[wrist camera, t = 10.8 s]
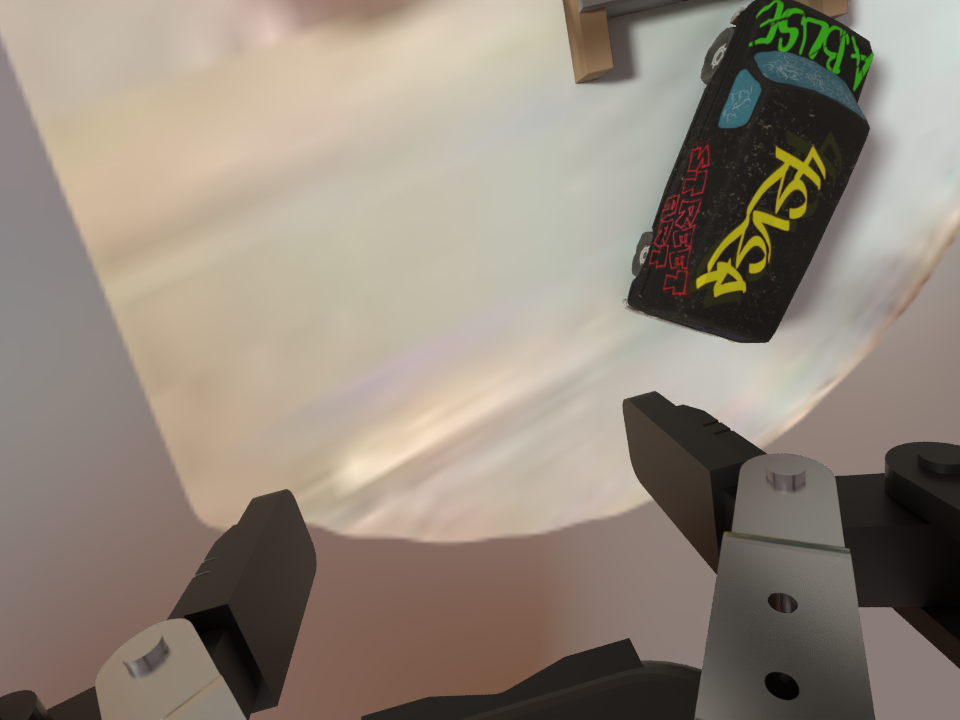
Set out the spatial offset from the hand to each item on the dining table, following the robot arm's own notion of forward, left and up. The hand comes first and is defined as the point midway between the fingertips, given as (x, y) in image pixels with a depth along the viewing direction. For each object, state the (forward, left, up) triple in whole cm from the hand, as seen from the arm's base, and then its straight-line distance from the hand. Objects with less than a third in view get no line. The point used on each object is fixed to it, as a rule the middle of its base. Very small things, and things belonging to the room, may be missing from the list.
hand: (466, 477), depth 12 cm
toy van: (-2, +26, -34) cm, 43 cm away
